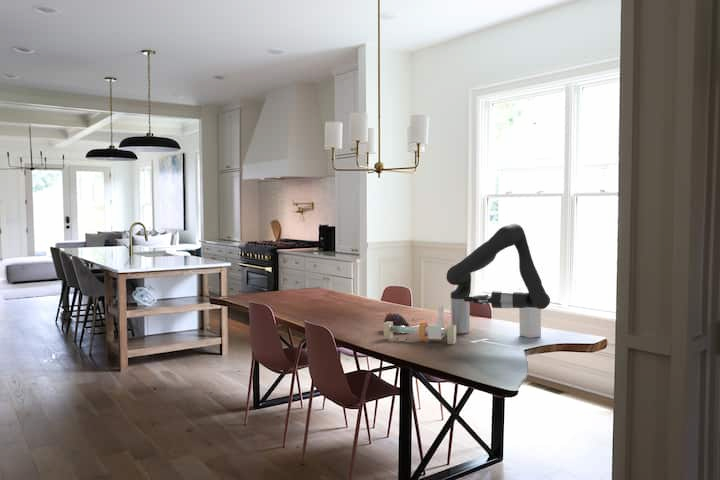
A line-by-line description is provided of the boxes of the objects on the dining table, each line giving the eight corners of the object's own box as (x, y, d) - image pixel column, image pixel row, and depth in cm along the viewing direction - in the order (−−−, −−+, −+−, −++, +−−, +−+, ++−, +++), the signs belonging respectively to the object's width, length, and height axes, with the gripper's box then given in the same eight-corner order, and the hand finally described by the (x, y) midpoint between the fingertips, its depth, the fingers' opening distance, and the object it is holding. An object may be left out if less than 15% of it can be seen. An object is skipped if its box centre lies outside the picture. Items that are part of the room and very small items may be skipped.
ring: (428, 337, 275) (428, 321, 275) (423, 340, 268) (423, 324, 267) (423, 336, 276) (423, 320, 275) (419, 340, 269) (418, 323, 268)
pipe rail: (457, 340, 270) (456, 324, 270) (453, 345, 262) (452, 327, 262) (388, 336, 283) (388, 320, 283) (382, 340, 275) (382, 324, 274)
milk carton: (519, 335, 279) (519, 296, 279) (531, 334, 282) (531, 295, 281) (528, 338, 273) (528, 298, 272) (541, 336, 275) (540, 297, 274)
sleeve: (443, 336, 271) (443, 305, 270) (440, 339, 266) (440, 307, 265) (431, 335, 273) (430, 304, 273) (428, 338, 268) (427, 306, 267)
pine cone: (416, 331, 295) (413, 317, 289) (403, 343, 290) (400, 328, 284) (392, 318, 307) (388, 304, 301) (379, 329, 302) (375, 315, 297)
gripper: (504, 289, 263) (466, 289, 270) (500, 293, 251) (461, 292, 257) (505, 306, 263) (467, 305, 270) (500, 310, 251) (461, 309, 257)
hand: (464, 299), depth 264 cm, fingers closed
